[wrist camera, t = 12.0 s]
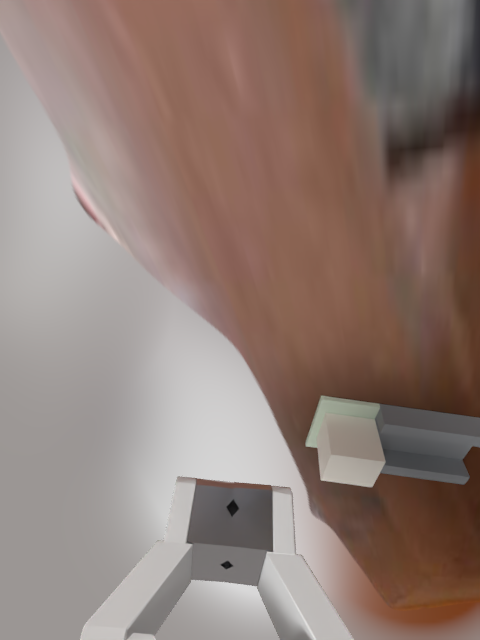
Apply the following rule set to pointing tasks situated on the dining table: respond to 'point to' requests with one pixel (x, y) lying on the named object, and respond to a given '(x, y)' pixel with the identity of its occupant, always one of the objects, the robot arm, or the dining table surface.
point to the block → (349, 450)
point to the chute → (411, 438)
